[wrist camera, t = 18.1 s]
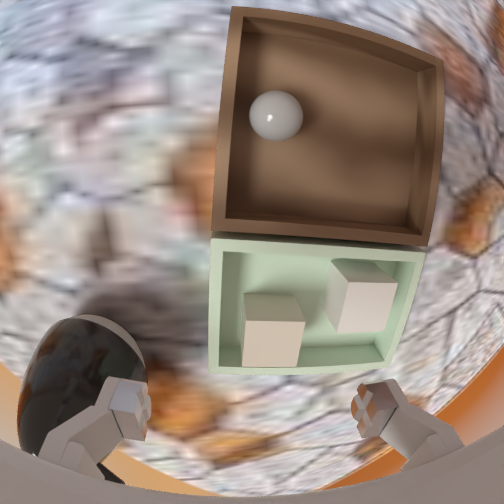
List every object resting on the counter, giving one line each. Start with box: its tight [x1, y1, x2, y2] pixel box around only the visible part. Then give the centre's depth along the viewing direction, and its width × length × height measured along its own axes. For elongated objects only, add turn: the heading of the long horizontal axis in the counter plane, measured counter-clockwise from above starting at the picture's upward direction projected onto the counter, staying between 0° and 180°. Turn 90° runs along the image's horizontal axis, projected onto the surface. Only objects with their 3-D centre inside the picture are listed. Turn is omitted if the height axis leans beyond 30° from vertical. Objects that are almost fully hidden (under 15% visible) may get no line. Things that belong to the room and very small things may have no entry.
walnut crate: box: [211, 6, 444, 247], centre depth 18 cm, size 15×16×4 cm
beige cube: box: [240, 293, 305, 367], centre depth 22 cm, size 4×4×4 cm
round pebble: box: [249, 90, 303, 142], centre depth 17 cm, size 3×3×3 cm
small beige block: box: [322, 261, 398, 333], centre depth 21 cm, size 4×4×4 cm
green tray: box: [208, 231, 426, 375], centre depth 22 cm, size 11×16×4 cm
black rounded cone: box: [17, 314, 148, 485], centre depth 17 cm, size 10×10×15 cm
